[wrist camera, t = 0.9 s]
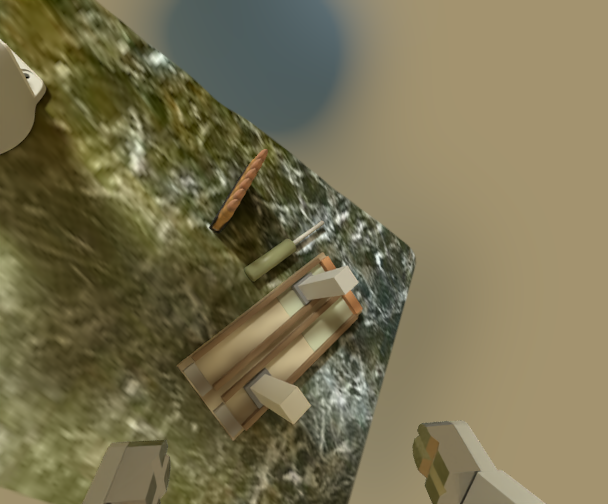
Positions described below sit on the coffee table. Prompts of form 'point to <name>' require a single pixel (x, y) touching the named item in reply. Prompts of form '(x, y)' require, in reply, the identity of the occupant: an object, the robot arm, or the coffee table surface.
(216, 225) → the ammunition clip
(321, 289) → the pillar on grey base
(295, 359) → the wooden double track board
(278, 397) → the beige rectangular pillar
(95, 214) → the coffee table surface
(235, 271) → the coffee table surface
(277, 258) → the screwdriver
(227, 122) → the coffee table surface
